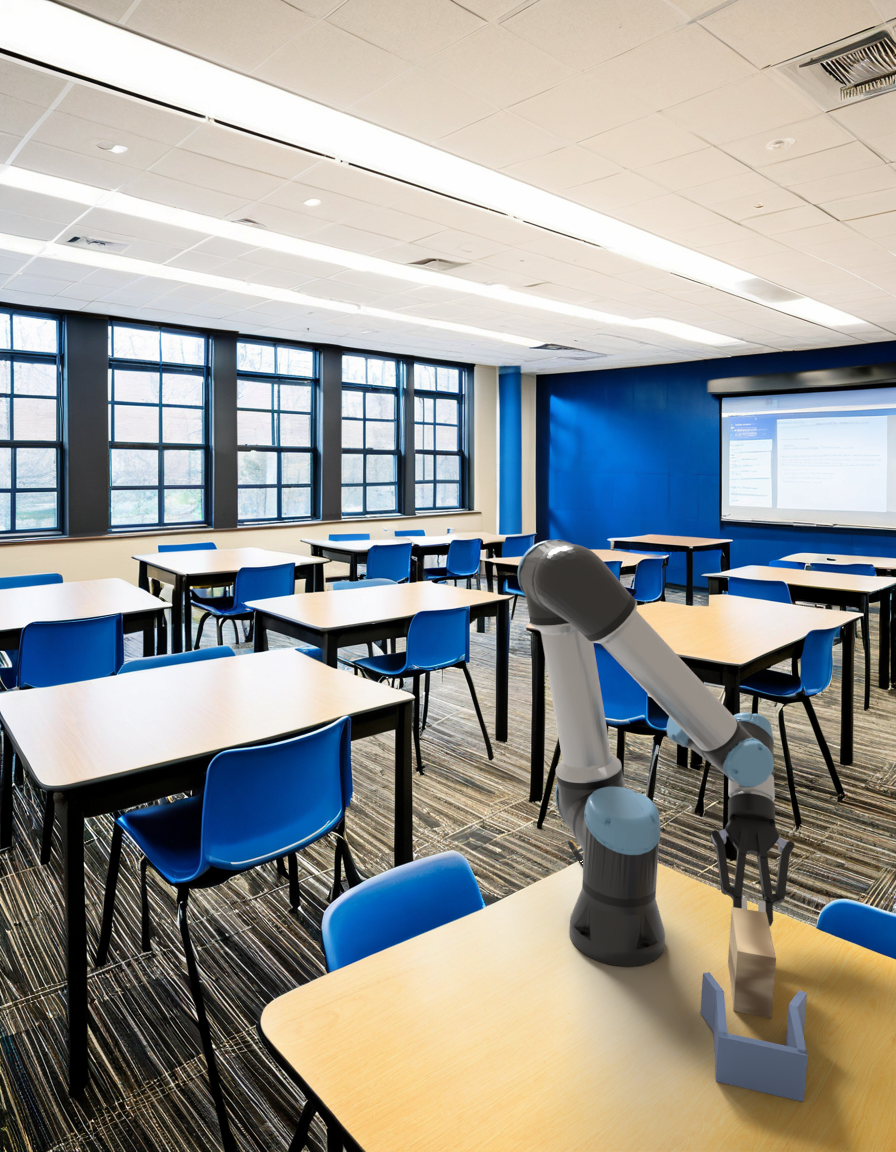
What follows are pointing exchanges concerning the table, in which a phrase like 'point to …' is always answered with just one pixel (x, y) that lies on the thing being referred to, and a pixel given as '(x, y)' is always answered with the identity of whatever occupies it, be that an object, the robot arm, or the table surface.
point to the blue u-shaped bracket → (757, 1049)
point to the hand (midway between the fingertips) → (753, 944)
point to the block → (751, 962)
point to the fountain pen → (575, 851)
